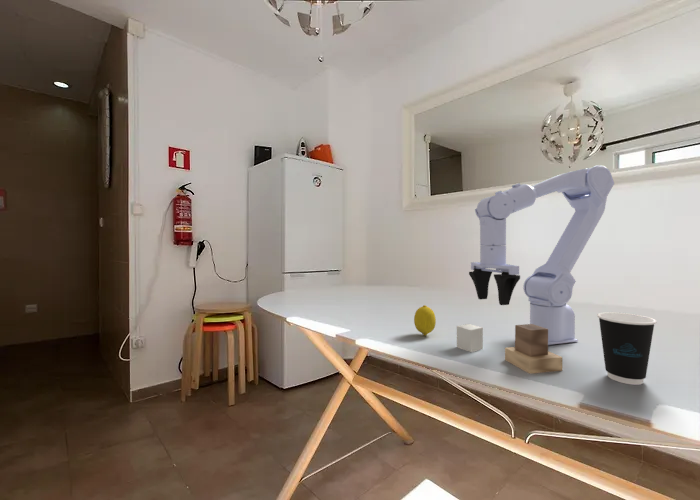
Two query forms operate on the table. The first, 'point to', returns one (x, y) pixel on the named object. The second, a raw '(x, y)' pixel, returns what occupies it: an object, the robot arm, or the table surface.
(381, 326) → the table surface
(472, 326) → the grey block
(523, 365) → the oak slab
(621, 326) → the dixie cup
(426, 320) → the lemon
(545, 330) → the walnut block
